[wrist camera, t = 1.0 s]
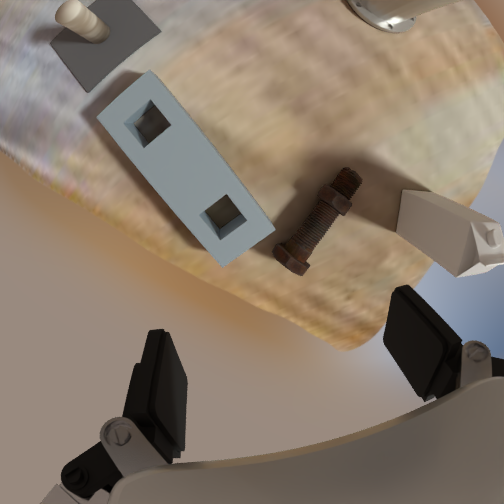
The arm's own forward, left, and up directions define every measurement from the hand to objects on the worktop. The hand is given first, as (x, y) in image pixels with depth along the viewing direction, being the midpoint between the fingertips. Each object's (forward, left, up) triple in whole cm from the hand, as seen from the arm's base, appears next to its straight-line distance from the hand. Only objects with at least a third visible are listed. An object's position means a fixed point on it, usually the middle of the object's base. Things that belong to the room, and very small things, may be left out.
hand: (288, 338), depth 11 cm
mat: (+1, -29, -27) cm, 40 cm away
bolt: (-7, +9, -28) cm, 30 cm away
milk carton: (-21, +19, -27) cm, 39 cm away
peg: (+1, -29, -27) cm, 40 cm away
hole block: (+3, -6, -27) cm, 28 cm away
